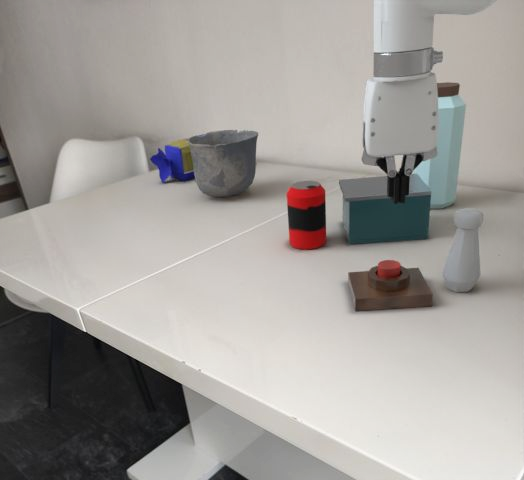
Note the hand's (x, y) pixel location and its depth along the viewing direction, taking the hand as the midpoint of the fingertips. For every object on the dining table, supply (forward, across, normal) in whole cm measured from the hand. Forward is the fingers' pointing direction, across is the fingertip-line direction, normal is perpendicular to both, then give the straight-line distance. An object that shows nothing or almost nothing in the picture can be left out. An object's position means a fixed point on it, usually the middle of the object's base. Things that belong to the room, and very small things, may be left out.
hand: (397, 200), depth 82 cm
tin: (+15, -3, -28) cm, 32 cm away
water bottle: (+16, -17, -43) cm, 49 cm away
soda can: (+15, +13, -24) cm, 32 cm away
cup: (+15, +32, -62) cm, 72 cm away
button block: (+15, +1, +1) cm, 16 cm away
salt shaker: (+16, -11, 0) cm, 19 cm away
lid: (+7, -3, -28) cm, 29 cm away
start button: (+12, +1, +1) cm, 12 cm away
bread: (+15, +44, -88) cm, 99 cm away
